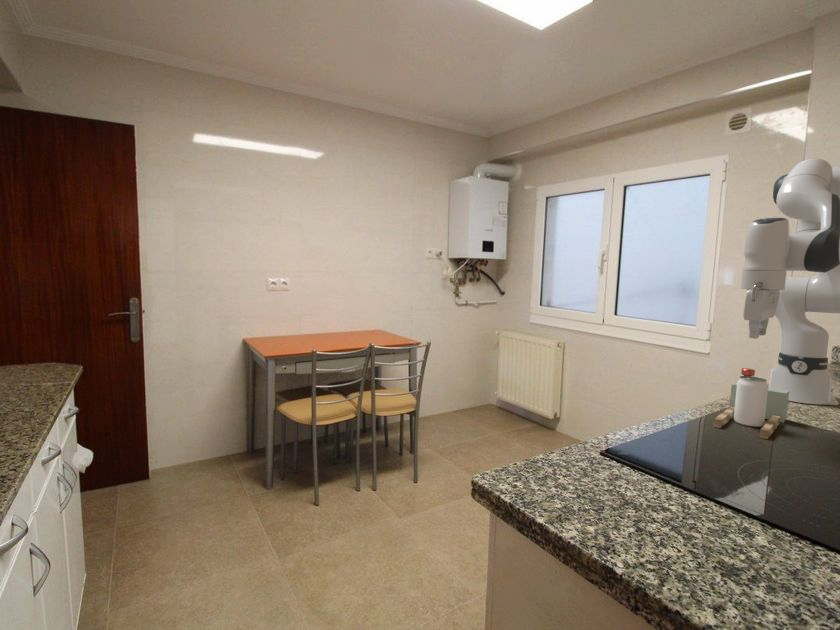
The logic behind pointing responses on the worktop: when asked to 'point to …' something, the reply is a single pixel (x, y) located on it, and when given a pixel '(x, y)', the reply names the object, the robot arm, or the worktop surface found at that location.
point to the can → (751, 401)
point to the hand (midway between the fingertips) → (757, 336)
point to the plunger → (747, 372)
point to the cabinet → (770, 402)
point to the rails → (764, 431)
